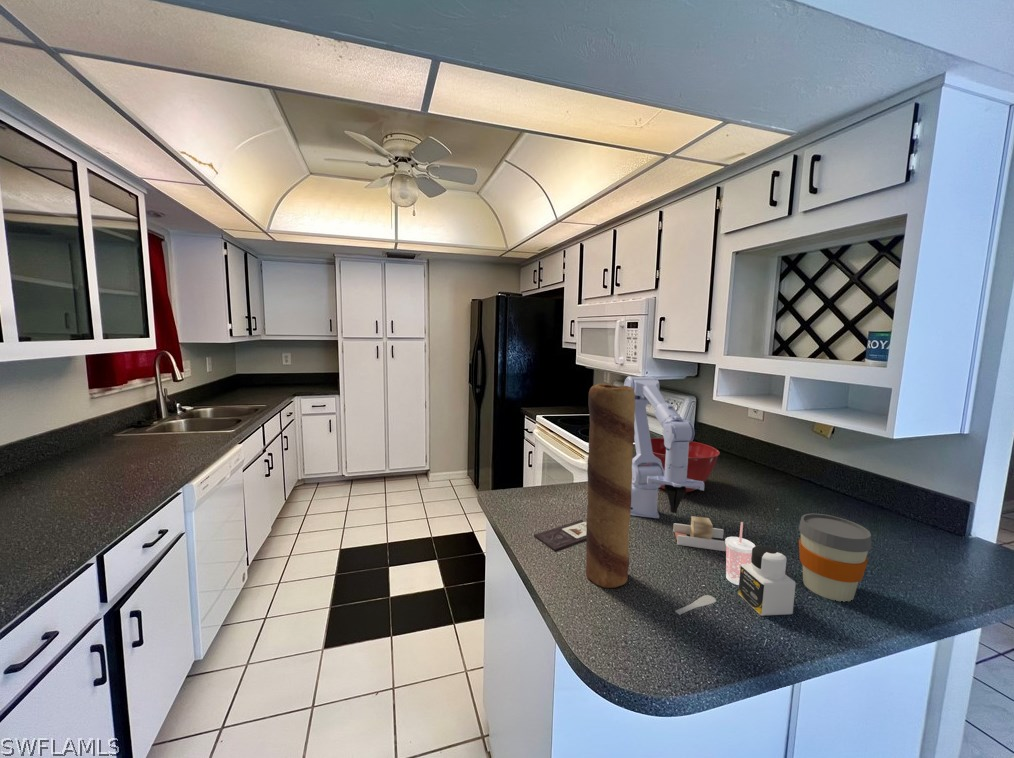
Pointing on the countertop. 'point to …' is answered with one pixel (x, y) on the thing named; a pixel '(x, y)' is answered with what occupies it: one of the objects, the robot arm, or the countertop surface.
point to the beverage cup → (737, 555)
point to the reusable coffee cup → (833, 555)
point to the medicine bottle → (767, 582)
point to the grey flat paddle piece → (697, 604)
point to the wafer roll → (609, 483)
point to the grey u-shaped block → (685, 540)
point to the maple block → (701, 527)
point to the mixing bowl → (690, 459)
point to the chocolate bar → (564, 535)
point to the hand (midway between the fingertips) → (673, 511)
